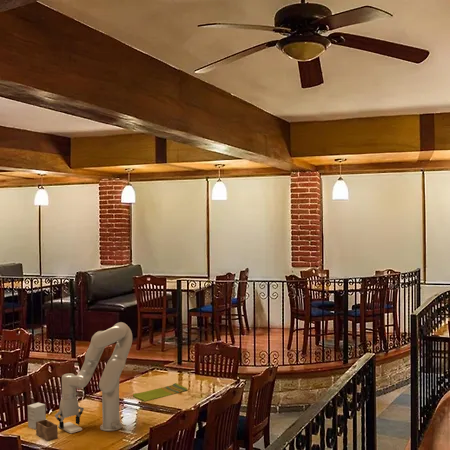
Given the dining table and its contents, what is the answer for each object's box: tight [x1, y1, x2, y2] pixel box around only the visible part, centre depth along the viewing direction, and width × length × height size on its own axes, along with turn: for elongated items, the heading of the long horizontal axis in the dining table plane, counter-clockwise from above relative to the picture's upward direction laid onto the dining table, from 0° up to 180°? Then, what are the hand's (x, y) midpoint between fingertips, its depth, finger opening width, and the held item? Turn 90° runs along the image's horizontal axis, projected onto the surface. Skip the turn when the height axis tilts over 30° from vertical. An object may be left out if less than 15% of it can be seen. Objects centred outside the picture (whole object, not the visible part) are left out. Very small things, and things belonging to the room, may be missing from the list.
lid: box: [57, 421, 83, 434], centre depth 319 cm, size 15×7×2 cm, turn 42°
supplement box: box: [27, 401, 47, 430], centre depth 326 cm, size 7×7×13 cm
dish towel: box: [132, 383, 188, 403], centre depth 384 cm, size 15×36×3 cm, turn 130°
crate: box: [35, 419, 59, 442], centre depth 310 cm, size 14×6×7 cm, turn 42°
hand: (69, 426), depth 319 cm, fingers open, 9 cm apart
